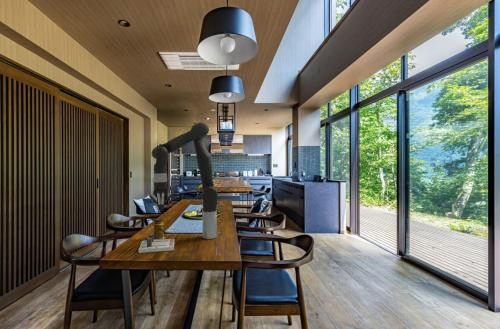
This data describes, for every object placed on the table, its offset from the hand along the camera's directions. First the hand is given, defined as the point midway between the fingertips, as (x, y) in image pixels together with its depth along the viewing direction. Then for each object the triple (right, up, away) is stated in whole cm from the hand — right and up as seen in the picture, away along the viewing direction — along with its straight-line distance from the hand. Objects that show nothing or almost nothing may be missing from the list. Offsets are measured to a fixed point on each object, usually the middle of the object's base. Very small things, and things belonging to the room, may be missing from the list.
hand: (161, 210), depth 150 cm
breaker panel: (-1, -21, -2) cm, 21 cm away
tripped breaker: (-4, -18, -7) cm, 20 cm away
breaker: (-6, -18, +2) cm, 19 cm away
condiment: (-8, -21, +17) cm, 28 cm away
